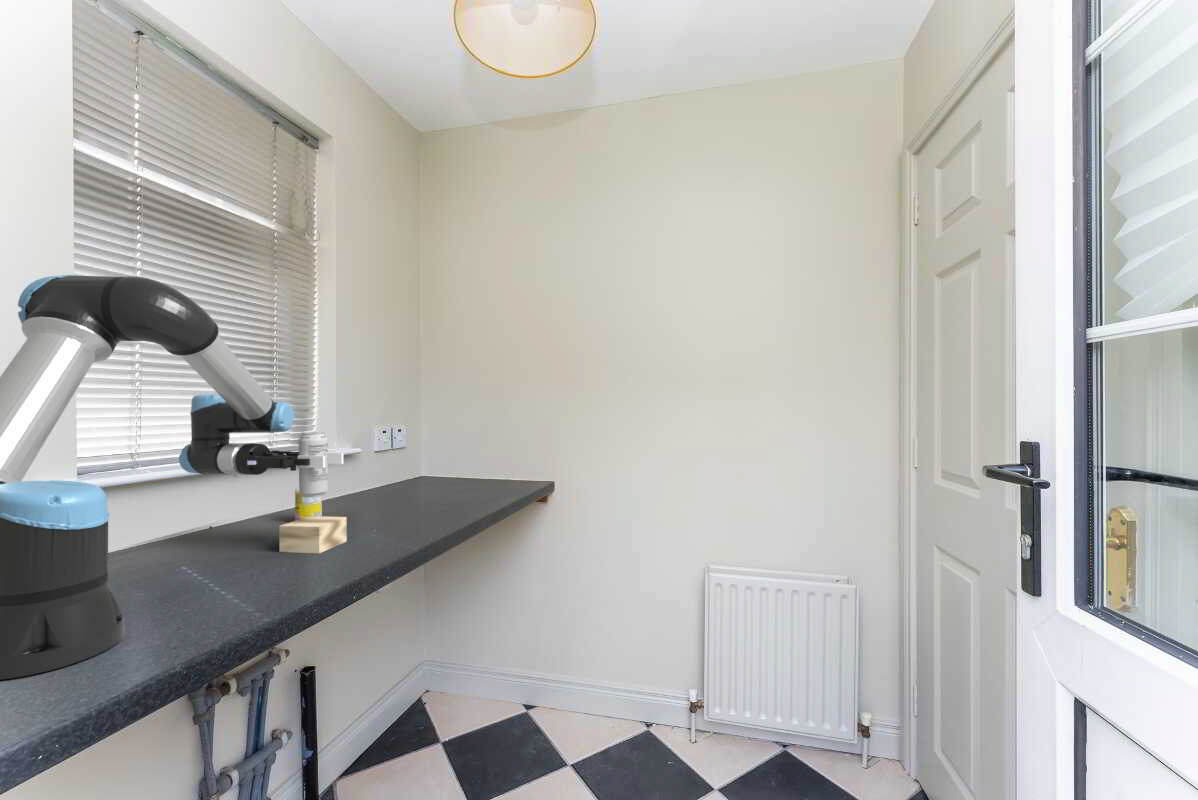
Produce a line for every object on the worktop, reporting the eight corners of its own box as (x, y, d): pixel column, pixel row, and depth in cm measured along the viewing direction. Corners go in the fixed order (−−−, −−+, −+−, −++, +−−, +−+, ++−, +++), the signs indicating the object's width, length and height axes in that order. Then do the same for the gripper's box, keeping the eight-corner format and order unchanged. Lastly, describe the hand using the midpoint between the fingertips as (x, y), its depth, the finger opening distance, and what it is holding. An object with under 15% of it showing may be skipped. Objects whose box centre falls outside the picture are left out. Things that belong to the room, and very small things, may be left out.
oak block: (319, 553, 118) (319, 527, 118) (279, 551, 119) (279, 525, 119) (346, 541, 128) (346, 517, 128) (309, 540, 129) (309, 516, 129)
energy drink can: (320, 492, 128) (319, 431, 128) (333, 494, 124) (332, 432, 124) (294, 496, 123) (293, 432, 123) (307, 499, 119) (306, 433, 119)
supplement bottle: (296, 520, 150) (296, 476, 150) (322, 518, 153) (322, 474, 153) (294, 525, 144) (293, 479, 144) (321, 522, 147) (320, 477, 147)
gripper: (275, 468, 135) (357, 470, 132) (211, 480, 117) (305, 482, 113) (275, 440, 135) (357, 440, 132) (211, 447, 117) (305, 448, 113)
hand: (333, 460), depth 123 cm, fingers closed on energy drink can, 6 cm apart
